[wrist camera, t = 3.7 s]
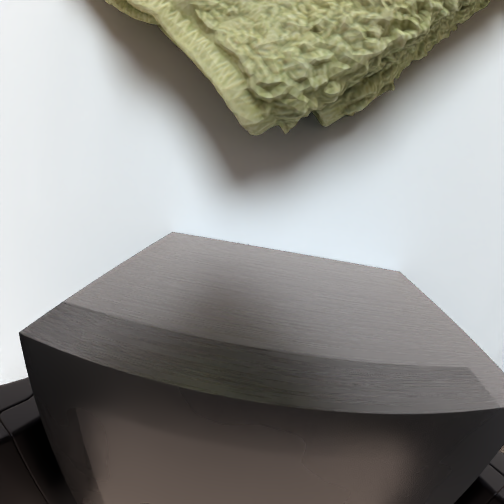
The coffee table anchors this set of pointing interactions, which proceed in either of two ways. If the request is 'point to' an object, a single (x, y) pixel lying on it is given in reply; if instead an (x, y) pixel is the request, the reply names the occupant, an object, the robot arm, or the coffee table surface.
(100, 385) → the dark grey framed cube
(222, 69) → the washcloth
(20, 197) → the coffee table surface
